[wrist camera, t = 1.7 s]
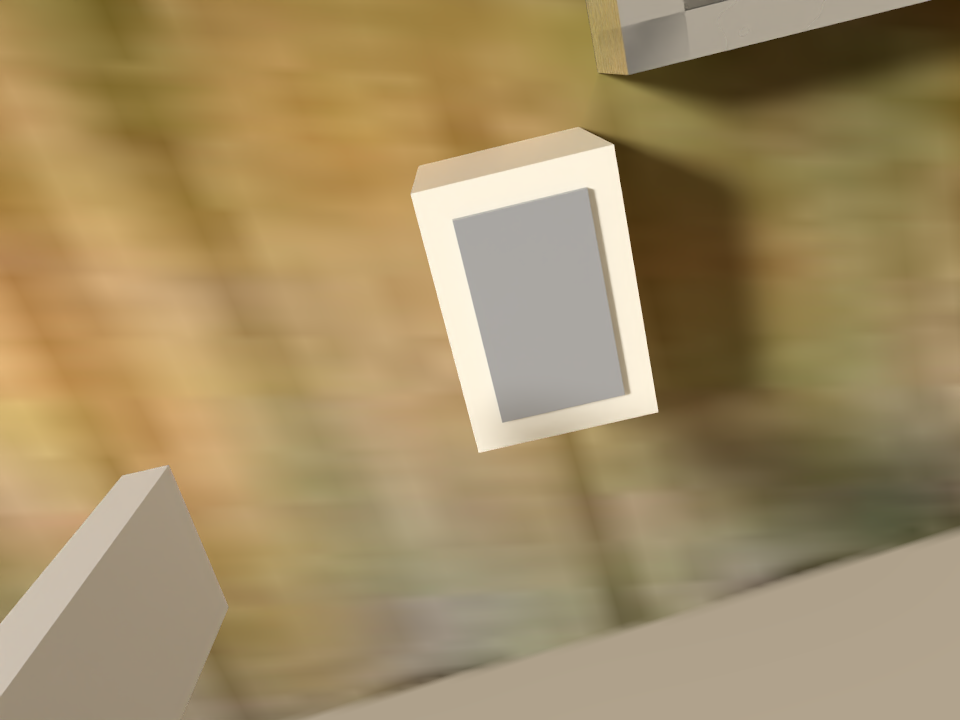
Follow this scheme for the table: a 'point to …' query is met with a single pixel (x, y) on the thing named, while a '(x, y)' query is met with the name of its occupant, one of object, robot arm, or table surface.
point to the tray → (706, 26)
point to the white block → (537, 286)
